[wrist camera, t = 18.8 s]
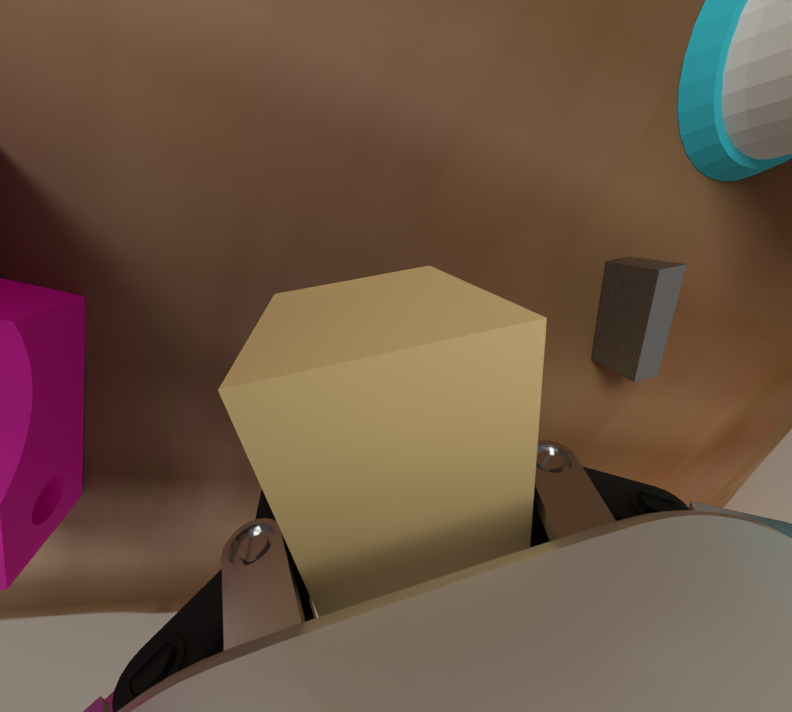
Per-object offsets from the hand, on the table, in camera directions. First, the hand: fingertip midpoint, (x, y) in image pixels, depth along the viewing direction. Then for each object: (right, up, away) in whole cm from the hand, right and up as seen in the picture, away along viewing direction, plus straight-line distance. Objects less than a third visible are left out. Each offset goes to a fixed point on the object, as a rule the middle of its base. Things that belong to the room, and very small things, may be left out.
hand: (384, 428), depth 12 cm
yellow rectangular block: (0, 0, +1) cm, 1 cm away
